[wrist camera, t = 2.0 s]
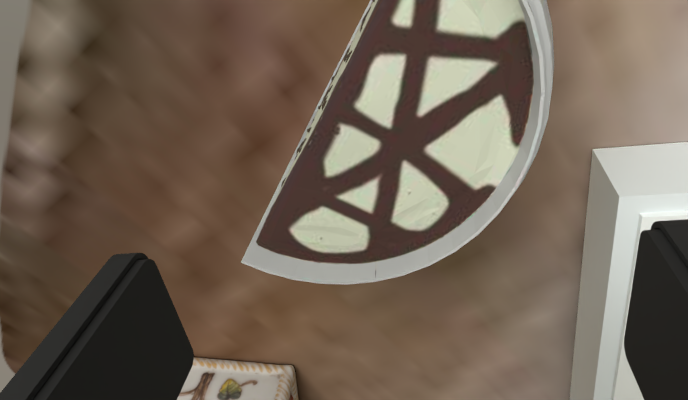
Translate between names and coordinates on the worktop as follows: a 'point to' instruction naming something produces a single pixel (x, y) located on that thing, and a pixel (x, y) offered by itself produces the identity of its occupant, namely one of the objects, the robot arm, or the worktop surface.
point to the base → (620, 257)
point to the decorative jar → (238, 381)
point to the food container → (412, 141)
